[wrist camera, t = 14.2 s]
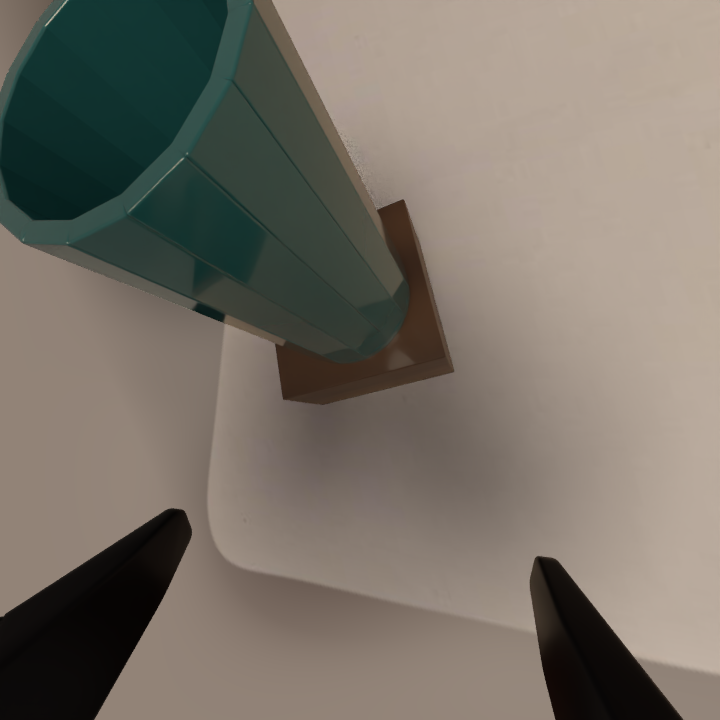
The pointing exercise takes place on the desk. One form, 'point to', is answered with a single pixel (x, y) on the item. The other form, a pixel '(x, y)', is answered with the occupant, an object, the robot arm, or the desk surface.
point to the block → (395, 361)
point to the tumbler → (197, 171)
